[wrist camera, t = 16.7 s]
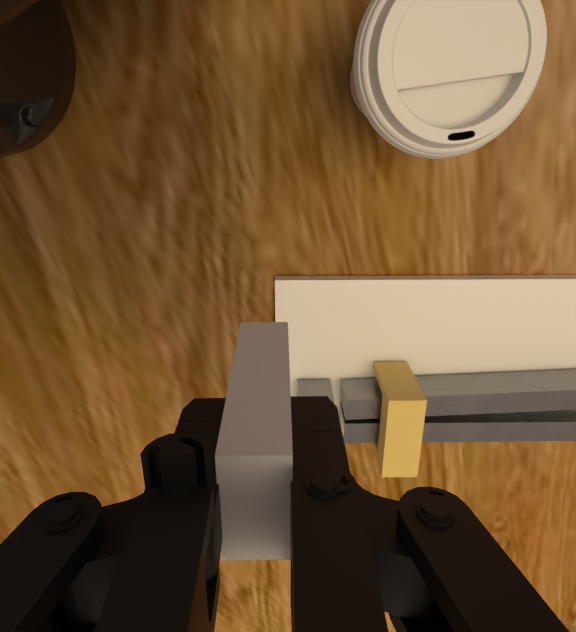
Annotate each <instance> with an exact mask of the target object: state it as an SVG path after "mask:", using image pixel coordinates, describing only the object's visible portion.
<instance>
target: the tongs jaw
mask: <svg viewBox="0 0 576 632" xmlns="http://www.w3.org/2000/svg"><path fill="white" fill-rule="evenodd" d="M415 378H416V380H417V382H418V384H419V386H420V388H421V390H422V392H423V394H424V396H425V398H426V400H427V404H426V412H425V416H444V415H467V414H490V413H512V412H535V411H558V410H576V369H568V370H545V371H522V372H500V373H477V374H454V375H432V376H415ZM341 402H342V407H343V411H344V416H345V420H353V419H376V418H381V407H382V392H381V389H380V386H379V384H378V381H377V378H364V379H341Z"/></svg>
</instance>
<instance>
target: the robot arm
mask: <svg viewBox="0 0 576 632" xmlns="http://www.w3.org/2000/svg"><path fill="white" fill-rule="evenodd" d="M74 80H75V52H74V45H73V40H72V35H71V31H70V28H69V24H68V21H67V19H66V16H65V13H64V11H63V9H62V6H61V4H60V2H59V0H0V156H6V155H12V154H16V153H19V152H22V151H25V150H27V149H29V148H31V147H33V146H35V145H36V144H38V143H40V142H41V141H42V140H44V139H45V138H46V137H47V136H48V135H49V134H50V133H51V132H52V131H53V130H54V129H55V128H56V126H57V125H58V124H59V122H60V121H61V119H62V117H63V116H64V114H65V112H66V110H67V107H68V105H69V102H70V99H71V96H72V92H73V87H74ZM141 460H142V468H143V475H144V482H145V491H144V493H143V494H141V495H139V496H137V497H135V498H133V499H130V500H127V501H124V502H120V503H116V504H112V505H108V506H104V507H101V503H100V502H99V500H98V499H97V498H96V497H95V496H93V495H91V494H88V493H86V492H70V493H65V494H61V495H57V496H55V497H53V498H51V499H49V500H47V501H45V502H43V503H42V504H40V505H39V506H38V507H37V508H35V509H34V510H33V511H32V512H31V513H30V514H29V515H28V516H27V517H26V518H25V519H24V520H23V521H22V522H21V523H20V524H19V525H18V526H17V528H16V529H15V530H14V531H13V532H12V533H11V534H10V535H9V536H8V537H7V538H6V539H5V540H4V541H3V542H2V543H1V544H0V632H214V628H215V620H216V612H217V604H218V596H219V588H220V576H219V560H220V553H221V552H222V560H286V559H291V619H292V632H388V628H387V623H386V618H385V613H384V612H388V613H389V616H390V619H391V621H392V624H393V626H394V628H395V630H396V632H569V631H568V630H567V628H566V627H565V626H564V625H563V623H562V622H561V621H560V620H559V619H558V617H557V616H556V615H555V614H554V612H553V611H552V610H551V609H550V607H549V606H548V605H547V604H546V602H545V601H544V600H543V599H542V597H541V596H540V595H539V594H538V593H537V591H536V590H535V589H534V588H533V586H532V585H531V584H530V583H529V581H528V580H527V579H526V578H525V576H524V575H523V574H522V573H521V571H520V570H519V569H518V568H517V567H516V565H515V564H514V563H513V562H512V560H511V559H510V558H509V557H508V555H507V554H506V553H505V552H504V550H503V549H502V548H501V547H500V546H499V544H498V543H497V542H496V541H495V539H494V538H493V537H492V536H491V534H490V533H489V532H488V531H487V529H486V528H485V527H484V526H483V524H482V523H481V522H480V521H479V520H478V518H477V517H476V516H475V515H474V513H473V512H472V511H471V510H470V508H469V507H468V506H467V505H466V504H465V503H464V502H463V501H462V500H461V499H460V498H458V497H457V496H456V495H454V494H452V493H450V492H448V491H446V490H443V489H439V488H434V487H417V488H414V489H412V490H409V491H407V492H406V493H405V494H404V495H403V496H402V497H401V498H400V501H396V500H392V499H388V498H384V497H380V496H377V495H374V494H372V493H370V492H368V491H366V490H364V489H363V488H362V487H361V486H359V485H358V484H357V482H356V480H355V478H354V477H353V476H352V475H351V473H350V470H349V465H348V460H347V455H346V450H345V445H344V439H343V434H342V429H341V424H340V419H339V414H338V409H337V406H336V405H335V404H334V403H333V402H332V401H331V400H330V399H329V398H328V396H291V394H290V367H289V339H288V322H241V323H240V329H239V334H238V339H237V344H236V349H235V354H234V359H233V365H232V370H231V375H230V380H229V385H228V390H227V396H226V398H194V399H193V400H192V401H191V402H190V403H189V404H188V405H187V406H186V407H185V408H183V409H182V412H181V415H180V418H179V421H178V425H177V427H176V430H175V433H174V434H168V435H165V436H163V437H160V438H157V439H155V440H154V441H152V442H151V443H150V444H148V445H147V446H146V447H145V448H144V450H143V451H142V453H141Z"/></svg>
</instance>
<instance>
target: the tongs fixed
mask: <svg viewBox="0 0 576 632" xmlns="http://www.w3.org/2000/svg"><path fill="white" fill-rule="evenodd" d="M298 396H328V398H329V399H330V400H331V401H332V402H333V403H334V396H333V391H332V386H331V381H330V380H298ZM339 419H340V424H341V429H342V434H343V439H344V443H363V442H378V441H379V430H380V418H376V419H353V420H345V416H344V411H343V407H342V402H340V414H339ZM480 441H576V410H558V411H535V412H512V413H490V414H467V415H444V416H425V420H424V428H423V436H422V442H480Z"/></svg>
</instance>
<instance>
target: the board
mask: <svg viewBox="0 0 576 632" xmlns="http://www.w3.org/2000/svg"><path fill="white" fill-rule="evenodd" d="M275 322H288V339H289V367H290V394H291V396H298V380H330V381H331V386H332V391H333V396H334V404H335V405H336V406H337V409H338V414H340V402H341V379H364V378H376V376H375V373H374V370H373V368H374V362H407V363H408V365H409V367H410V369H411V371H412V372H413V374H414V376H432V375H454V374H477V373H500V372H522V371H545V370H568V369H576V275H405V276H275Z"/></svg>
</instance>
